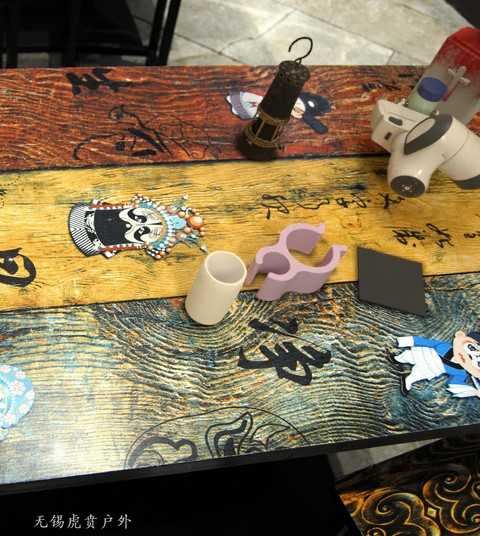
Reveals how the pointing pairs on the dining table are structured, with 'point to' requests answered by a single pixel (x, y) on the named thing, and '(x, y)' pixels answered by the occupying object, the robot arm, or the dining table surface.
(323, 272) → the clip
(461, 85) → the red white cross box
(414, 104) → the jar
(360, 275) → the mat
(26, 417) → the dining table surface
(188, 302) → the cup
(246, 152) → the lantern
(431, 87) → the lid
